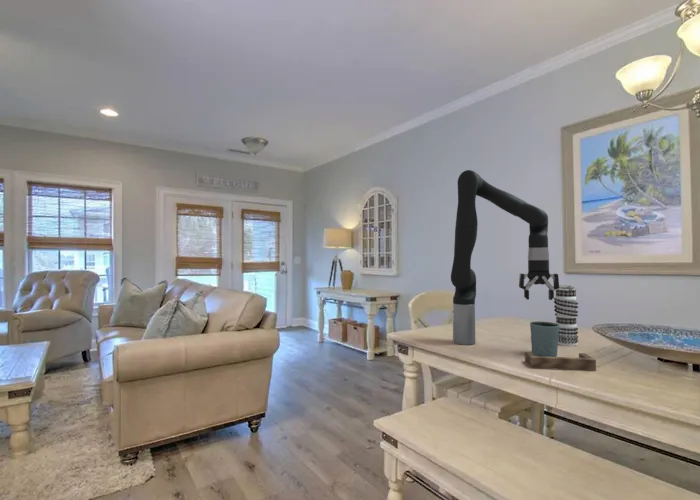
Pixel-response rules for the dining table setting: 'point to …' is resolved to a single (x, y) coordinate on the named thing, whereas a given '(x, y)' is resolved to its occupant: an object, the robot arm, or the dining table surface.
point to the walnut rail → (561, 362)
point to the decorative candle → (566, 315)
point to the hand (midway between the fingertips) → (538, 299)
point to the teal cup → (544, 338)
